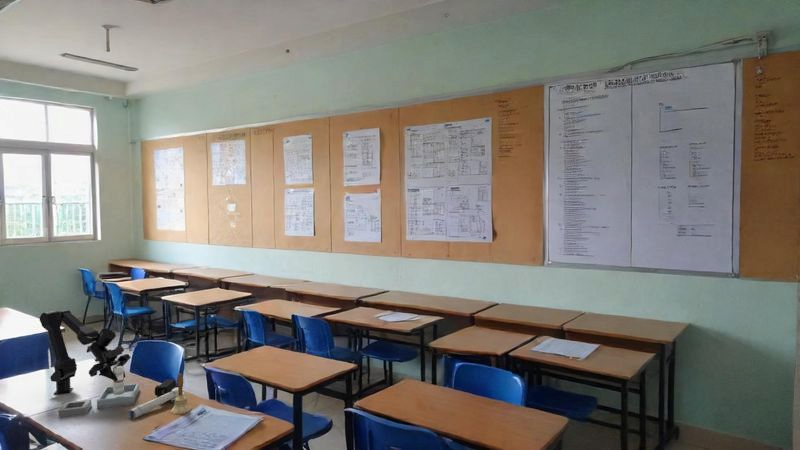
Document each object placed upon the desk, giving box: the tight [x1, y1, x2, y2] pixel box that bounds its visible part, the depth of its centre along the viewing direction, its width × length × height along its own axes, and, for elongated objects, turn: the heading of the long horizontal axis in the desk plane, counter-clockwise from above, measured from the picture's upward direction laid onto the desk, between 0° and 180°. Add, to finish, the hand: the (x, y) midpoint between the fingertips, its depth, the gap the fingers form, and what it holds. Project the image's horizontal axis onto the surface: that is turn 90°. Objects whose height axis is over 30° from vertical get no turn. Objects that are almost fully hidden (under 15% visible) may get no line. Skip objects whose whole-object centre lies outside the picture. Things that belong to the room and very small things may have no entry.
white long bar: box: [128, 386, 185, 420], centre depth 224 cm, size 5×7×25 cm
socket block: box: [57, 399, 92, 419], centre depth 221 cm, size 10×10×3 cm
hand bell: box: [170, 373, 192, 415], centre depth 222 cm, size 8×8×16 cm
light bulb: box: [112, 365, 125, 395], centre depth 235 cm, size 4×4×12 cm
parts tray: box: [96, 383, 140, 409], centre depth 235 cm, size 18×14×4 cm
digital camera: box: [154, 379, 177, 402], centre depth 236 cm, size 10×5×7 cm, turn 3°
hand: (120, 378), depth 235 cm, fingers closed on light bulb, 4 cm apart
